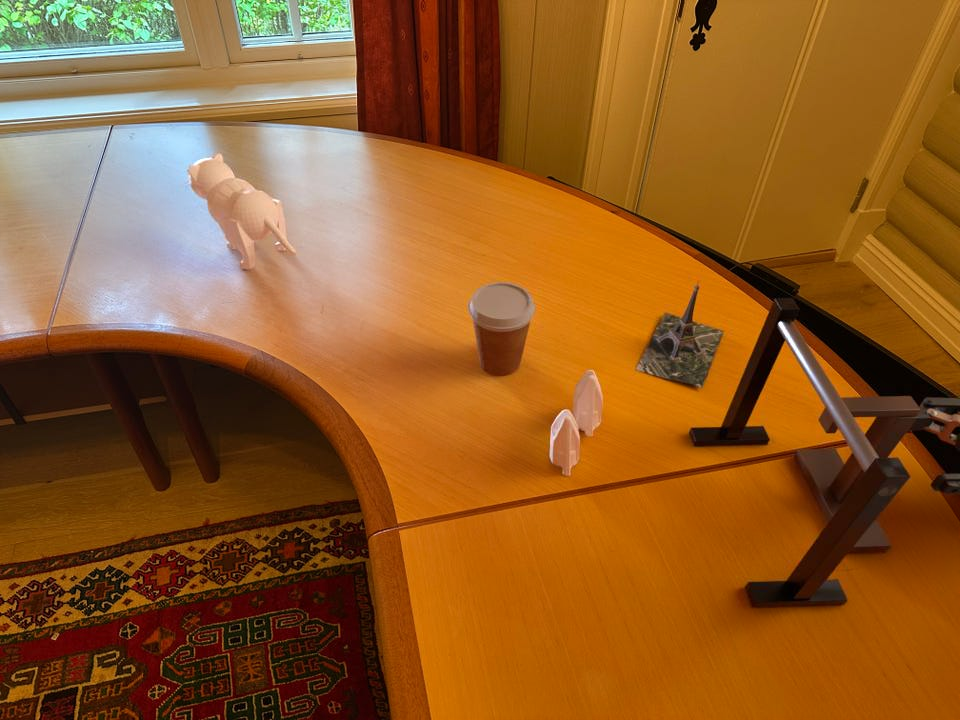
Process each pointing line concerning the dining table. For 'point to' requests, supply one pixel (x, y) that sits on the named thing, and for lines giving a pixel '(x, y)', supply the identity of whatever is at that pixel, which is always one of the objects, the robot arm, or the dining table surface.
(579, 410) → the shaker set
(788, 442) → the dining table surface
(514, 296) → the disposable coffee cup
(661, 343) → the eiffel tower figurine
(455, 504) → the dining table surface
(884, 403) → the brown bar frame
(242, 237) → the cat figurine
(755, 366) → the rack
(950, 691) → the dining table surface
